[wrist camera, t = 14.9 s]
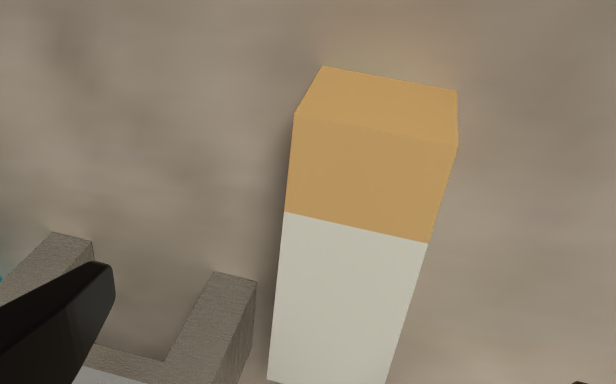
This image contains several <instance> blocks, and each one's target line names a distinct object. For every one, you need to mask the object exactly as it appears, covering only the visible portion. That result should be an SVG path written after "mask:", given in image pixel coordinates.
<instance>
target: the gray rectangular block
mask: <svg viewBox="0 0 616 384" xmlns="http://www.w3.org/2000/svg"><path fill="white" fill-rule="evenodd" d="M89 261H94V256H93V250H92V243H91V242H90V241H85V240H81V239H77V238H73V237H69V236H65V235H61V234H57V233H53V232H52V233H51V234H50V235H49V236H48V237H47V238H46V239H45V240H44V241H43V242H41V243H40V244H39V245H38V246H37V247H36V248H35V249H34V250H33V251H32V252H31V253H30V254H29V255H28V256H27V257H26V258H25V259H24V260H23V261H22V262H21V263H20V264H19V265H18V266H17V267H16V268H15V269H14V270H13V271H12V272H10V273H9V274H8V275H7V276H6V277H5V278H4V279H3V280H2V281H1V282H0V306H2V305H4V304H6V303H8V302H10V301H12V300H14V299H16V298H18V297H20V296H22V295H24V294H26V293H28V292H29V291H31V290H33V289H35V288H37V287H39V286H41V285H43V284H45V283H47V282H49V281H51V280H53V279H55V278H57V277H59V276H61V275H63V274H65V273H67V272H69V271H70V270H72V269H74V268H76V267H78V266H80V265H82V264H84V263H86V262H89ZM255 295H256V282H254V281H250V280H246V279H241V278H237V277H233V276H229V275H225V274H221V273H217V272H214V273H213V274H212V276H211V278H210V280H209V282H208V283H207V285H206V287H205V289H204V291H203V292H202V294H201V296H200V298H199V300H198V301H197V303H196V305H195V307H194V309H193V310H192V312H191V314H190V316H189V318H188V319H187V321H186V323H185V325H184V327H183V328H182V330H181V332H180V334H179V336H178V337H177V339H176V341H175V343H174V345H173V346H172V348H171V350H170V352H169V354H168V355H167V357H166V359H165V361H164V362H161V361H157V360H153V359H150V358H146V357H142V356H139V355H135V354H131V353H127V352H124V351H120V350H116V349H112V348H109V347H105V346H101V345H98V344H93V346H92V348H91V350H90V352H89V354H88V356H87V358H86V360H85V362H84V364H83V365H82V367H81V369H80V371H79V373H78V374H77V376H76V377H75V379H74V381H73V382H72V384H237V383H238V380H239V378H240V375H241V373H242V370H243V368H244V365H245V363H246V360H247V357H248V355H249V352H250V350H251V347H252V334H253V321H254V308H255Z"/></svg>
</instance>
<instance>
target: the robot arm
mask: <svg viewBox="0 0 616 384" xmlns="http://www.w3.org/2000/svg"><path fill="white" fill-rule="evenodd" d="M115 295H116V293H115V285H114V278H113V271H112V268H111V266H110V265H108V264H105V263H101V262H97V261H89V262H86V263H84V264H82V265H80V266H78V267H76V268H74V269H72V270H70V271H69V272H67V273H65V274H63V275H61V276H59V277H57V278H55V279H53V280H51V281H49V282H47V283H45V284H43V285H41V286H39V287H37V288H35V289H33V290H31V291H29V292H28V293H26V294H24V295H22V296H20V297H18V298H16V299H14V300H12V301H10V302H8V303H6V304H4V305H2V306H0V384H72V382H73V381H74V379H75V377H76V376H77V374H78V373H79V371H80V369H81V367H82V365H83V364H84V362H85V360H86V358H87V356H88V354H89V352H90V350H91V348H92V346H93V344H94V342H95V340H96V338H97V336H98V334H99V332H100V330H101V328H102V326H103V324H104V322H105V320H106V318H107V316H108V314H109V312H110V310H111V308H112V306H113V304H114V301H115ZM572 384H587V383H583V382H579V381H576V382H574V383H572Z"/></svg>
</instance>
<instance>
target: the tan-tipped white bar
mask: <svg viewBox="0 0 616 384" xmlns="http://www.w3.org/2000/svg"><path fill="white" fill-rule="evenodd" d="M458 147H459V144H458V113H457V91H454V90H449V89H443V88H438V87H433V86H427V85H422V84H417V83H411V82H406V81H401V80H396V79H390V78H385V77H380V76H374V75H369V74H364V73H358V72H353V71H348V70H342V69H337V68H332V67H327V66H322V67H321V69H320V70H319V72H318V74H317V75H316V77H315V79H314V81H313V82H312V84H311V86H310V87H309V89H308V91H307V93H306V94H305V96H304V98H303V100H302V101H301V103H300V105H299V106H298V108H297V110H296V112H295V113H294V122H293V131H292V141H291V150H290V160H289V169H288V179H287V189H286V198H285V208H284V217H283V227H282V236H281V246H280V255H279V265H278V275H277V284H276V294H275V303H274V313H273V322H272V332H271V341H270V351H269V361H268V370H267V380H271V381H275V382H279V383H282V384H385V381H386V378H387V375H388V372H389V369H390V365H391V362H392V359H393V356H394V353H395V349H396V346H397V343H398V340H399V336H400V333H401V330H402V327H403V324H404V320H405V317H406V314H407V311H408V308H409V304H410V301H411V298H412V295H413V291H414V288H415V285H416V282H417V279H418V275H419V272H420V269H421V266H422V263H423V259H424V256H425V253H426V250H427V246H428V243H429V240H430V237H431V234H432V230H433V227H434V224H435V221H436V218H437V214H438V211H439V208H440V205H441V201H442V198H443V195H444V192H445V189H446V185H447V182H448V179H449V176H450V173H451V169H452V166H453V163H454V160H455V156H456V153H457V150H458Z"/></svg>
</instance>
